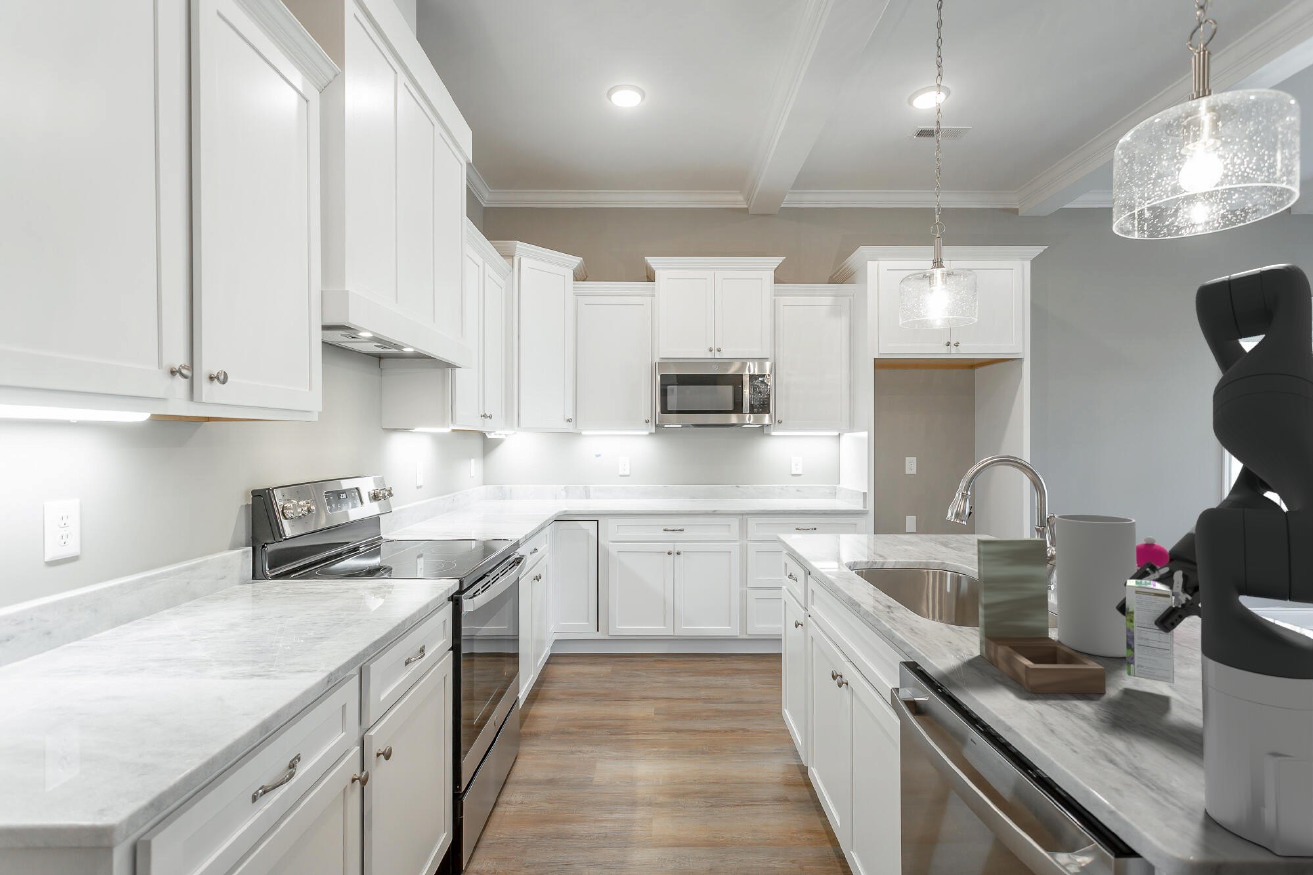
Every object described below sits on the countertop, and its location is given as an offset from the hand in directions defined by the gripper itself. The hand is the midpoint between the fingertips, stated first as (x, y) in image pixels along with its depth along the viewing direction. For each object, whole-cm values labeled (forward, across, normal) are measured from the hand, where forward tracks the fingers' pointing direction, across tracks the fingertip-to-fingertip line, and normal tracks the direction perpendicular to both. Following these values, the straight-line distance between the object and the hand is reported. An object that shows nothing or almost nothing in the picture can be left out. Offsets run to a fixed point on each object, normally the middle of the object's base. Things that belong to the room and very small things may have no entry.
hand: (1139, 620), depth 93 cm
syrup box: (+5, 0, +7) cm, 9 cm away
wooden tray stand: (+16, -8, 0) cm, 18 cm away
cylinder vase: (+3, -21, +13) cm, 24 cm away
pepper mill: (-9, -29, +24) cm, 39 cm away
